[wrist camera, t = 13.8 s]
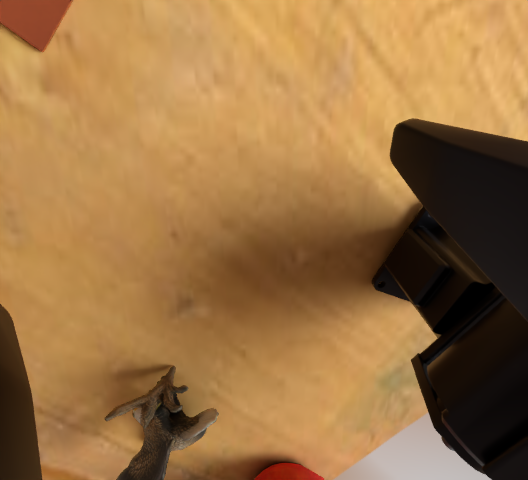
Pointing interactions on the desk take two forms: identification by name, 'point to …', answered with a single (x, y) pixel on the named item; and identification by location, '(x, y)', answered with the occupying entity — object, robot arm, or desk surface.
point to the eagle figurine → (161, 428)
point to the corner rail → (33, 19)
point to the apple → (287, 473)
